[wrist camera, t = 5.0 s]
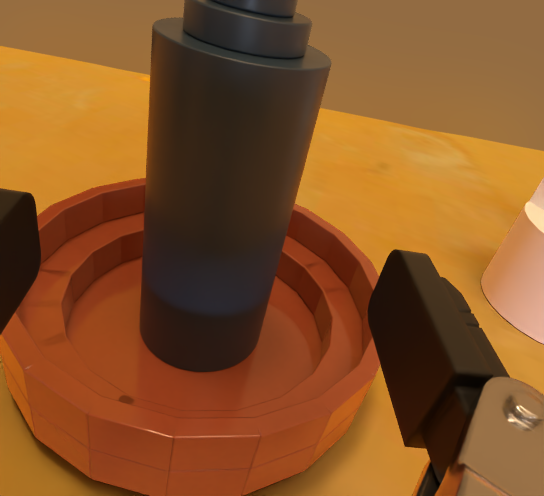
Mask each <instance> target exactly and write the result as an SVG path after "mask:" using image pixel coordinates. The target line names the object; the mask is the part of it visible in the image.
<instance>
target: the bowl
mask: <svg viewBox="0 0 544 496" xmlns="http://www.w3.org/2000/svg"><path fill="white" fill-rule="evenodd" d="M145 188H146V178H141V179H134V180H129V181H124V182H119V183H114V184H109V185H104V186H99V187H95V188H91V189H89V190H86V191H84V192H82V193H79V194H77V195H74V196H72V197H70V198H67V199H65V200H62V201H60V202H58V203H55V204H53V205H51V206H49V207H48V208H47V209H46V210H44V211H43V212H42V213H40V214H39V215H38V216H37V221H38V230H39V238H40V247H41V263H40V269H39V272H38V275H37V277H36V280H35V281H34V283H33V285H32V286H31V288H30V289H29V291H28V292H27V294H26V296H25V297H24V299H23V300H22V302H21V303H20V305H19V307H18V308H17V310H16V311H15V313H14V315H13V316H12V318H11V319H10V321H9V322H8V324H7V326H6V327H5V329H4V330H3V332H2V333H1V335H0V352H1V358H2V362H3V367H4V372H5V376H6V381H7V385H8V389H9V391H10V392H11V394H12V396H13V398H14V400H15V401H16V403H17V405H18V407H19V409H20V410H21V412H22V414H23V416H24V418H25V420H26V421H27V423H28V425H29V427H30V429H31V430H32V432H33V434H34V436H35V437H36V438H37V439H38V440H40V441H41V442H42V443H44V444H45V445H46V446H48V447H49V448H50V449H52V450H53V451H54V452H56V453H57V454H58V455H60V456H61V457H62V458H64V459H65V460H66V461H68V462H69V463H70V464H72V465H73V466H74V467H76V468H77V469H78V470H80V471H81V472H82V473H84V474H85V475H87V476H88V477H89V478H92V479H93V480H97V481H100V482H104V483H107V484H111V485H114V486H118V487H121V488H125V489H128V490H132V491H135V492H138V493H142V494H145V495H149V496H241V495H246V494H248V493H251V492H253V491H256V490H258V489H261V488H263V487H266V486H268V485H271V484H273V483H276V482H278V481H281V480H283V479H286V478H288V477H291V476H293V475H296V474H298V473H301V472H303V471H304V470H306V469H308V468H309V467H310V466H311V465H312V464H313V463H314V462H315V461H316V460H317V459H318V458H319V457H321V456H322V455H323V454H324V453H325V452H326V451H327V450H328V449H329V448H330V447H331V446H332V445H333V444H334V443H336V442H337V441H338V440H339V439H340V438H341V437H342V436H343V435H344V434H345V433H346V431H347V430H348V428H349V426H350V424H351V422H352V420H353V418H354V416H355V414H356V412H357V411H358V409H359V407H360V405H361V403H362V401H363V399H364V397H365V395H366V393H367V391H368V389H369V387H370V385H371V383H372V381H373V379H374V377H375V375H376V373H377V371H378V368H379V366H380V361H379V357H378V354H377V351H376V347H375V344H374V340H373V337H372V334H371V330H370V327H369V323H368V304H369V300H370V297H371V295H372V293H373V290H374V288H375V286H376V283H377V281H378V279H379V276H378V274H377V272H376V270H375V268H374V266H373V264H372V262H371V261H370V260H369V259H368V258H367V257H366V256H365V255H364V253H363V252H362V251H361V250H360V249H359V248H358V247H357V246H356V245H355V244H354V243H353V242H352V241H351V240H350V239H349V238H348V237H347V236H346V235H345V234H344V233H343V232H341V231H340V230H338V229H337V228H335V227H334V226H332V225H331V224H329V223H328V222H326V221H325V220H323V219H322V218H320V217H319V216H317V215H316V214H314V213H313V212H311V211H309V210H308V209H306V208H304V207H301V206H299V205H297V204H294V207H293V211H292V215H291V219H290V222H289V226H288V230H287V234H286V238H285V241H284V245H283V249H282V253H281V257H280V260H279V264H278V268H277V272H276V275H275V279H274V283H273V287H272V291H271V294H270V298H269V302H268V306H267V310H266V313H265V317H264V321H263V325H262V329H261V332H260V336H259V340H258V343H257V345H256V347H255V349H254V350H253V351H252V353H251V354H250V355H249V356H248V357H247V358H245V359H244V360H243V361H242V362H240V363H238V364H236V365H234V366H232V367H230V368H227V369H223V370H219V371H213V372H194V371H188V370H183V369H180V368H177V367H174V366H171V365H169V364H167V363H165V362H164V361H162V360H161V359H159V358H158V357H156V356H155V355H154V354H153V353H152V352H151V351H150V350H149V349H148V347H147V346H146V344H145V343H144V341H143V339H142V336H141V333H140V302H141V279H142V256H143V233H144V211H145Z"/></svg>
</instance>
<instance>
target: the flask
mask: <svg viewBox="0 0 544 496" xmlns="http://www.w3.org/2000/svg"><path fill="white" fill-rule="evenodd" d="M296 5H297V0H185V3H184V15H183V18H166V19H161V20H158V21H156V22H155V23H154V24H153V29H152V51H151V74H150V96H149V119H148V142H147V165H146V188H145V211H144V233H143V256H142V279H141V302H140V333H141V336H142V339H143V341H144V343H145V344H146V346H147V347H148V349H149V350H150V351H151V352H152V353H153V354H154V355H155V356H156V357H158V358H159V359H161V360H162V361H164V362H165V363H167V364H169V365H171V366H174V367H177V368H180V369H183V370H188V371H194V372H213V371H219V370H223V369H227V368H230V367H232V366H234V365H236V364H238V363H240V362H242V361H243V360H244V359H245V358H247V357H248V356H249V355H250V354H251V353H252V351H253V350H254V349H255V347H256V345H257V343H258V340H259V336H260V332H261V329H262V325H263V321H264V317H265V313H266V310H267V306H268V302H269V298H270V294H271V291H272V287H273V283H274V279H275V275H276V272H277V268H278V264H279V260H280V257H281V253H282V249H283V245H284V241H285V238H286V234H287V230H288V226H289V222H290V219H291V215H292V211H293V207H294V203H295V200H296V196H297V192H298V188H299V185H300V181H301V177H302V173H303V169H304V166H305V162H306V158H307V154H308V150H309V147H310V143H311V139H312V135H313V131H314V128H315V124H316V120H317V116H318V112H319V109H320V105H321V101H322V97H323V94H324V89H325V86H326V82H327V78H328V75H329V71H330V67H331V60H330V58H329V57H328V56H327V55H325V54H324V53H322V52H321V51H319V50H317V49H315V48H314V47H311V46H309V45H308V40H309V35H310V31H311V27H312V21H311V20H310V19H308V18H307V17H305V16H304V15H301V14H299V13H296V12H295V10H296Z"/></svg>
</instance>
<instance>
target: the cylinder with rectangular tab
mask: <svg viewBox="0 0 544 496" xmlns="http://www.w3.org/2000/svg"><path fill="white" fill-rule="evenodd" d="M481 285H482V289H483V293H484V294H485V296H486V298H487V299H488V301H489V302H490V304H491V305H492V306H493V307H494V308H495V309H496V310H497V312H498V313H499V314H500V315H501V316H502V317H503V318H505V319H506V320H507V321H508V322H510V323H511V324H512V325H513V326H515V327H516V328H517V329H518V330H520V331H522V332H523V333H525V334H526V335H528V336H530V337H531V338H533V339H534V340H536V341H538V342H540V343H542V344H544V178H543V179H542V181H541V183H540V184H539V186H538V188H537V189H536V191H535V192H534V194H533V196H532V197H531V199H530V201H529V202H527V203H526V204H525V205H524V207H523V209H522V210H521V212H520V214H519V215H518V217H517V219H516V220H515V222H514V224H513V225H512V227H511V229H510V230H509V232H508V234H507V235H506V237H505V239H504V240H503V242H502V243H501V245H500V247H499V248H498V250H497V252H496V253H495V255H494V257H493V258H492V260H491V262H490V263H489V265H488V267H487V268H486V270H485V272H484V273H483V275H482V279H481Z"/></svg>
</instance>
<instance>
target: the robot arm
mask: <svg viewBox="0 0 544 496" xmlns="http://www.w3.org/2000/svg"><path fill="white" fill-rule="evenodd" d="M40 263H41V247H40V238H39V230H38V221H37V213H36V204H35V200H34V197H33V195H32V194H31V193H27V192H21V191H14V190H7V189H1V188H0V335H1V333H2V332H3V330H4V329H5V327H6V326H7V324H8V322H9V321H10V319H11V318H12V316H13V315H14V313H15V311H16V310H17V308H18V307H19V305H20V303H21V302H22V300H23V299H24V297H25V296H26V294H27V292H28V291H29V289H30V288H31V286H32V285H33V283H34V281H35V280H36V277H37V275H38V272H39V269H40ZM368 323H369V327H370V330H371V334H372V337H373V340H374V344H375V347H376V351H377V354H378V357H379V361H380V364H381V367H382V371H383V374H384V378H385V381H386V384H387V388H388V391H389V394H390V398H391V401H392V405H393V408H394V411H395V415H396V418H397V421H398V425H399V428H400V432H401V435H402V438H403V442H404V445H405V447H414V448H426V449H427V451H428V454H429V457H430V459H429V461H428V462H427V463H426V465H425V467H424V468H423V471H422V473H421V475H420V478H419V480H418V482H417V485H416V487H415V489H414V492H413V494H412V496H544V395H543V394H541V393H540V392H539V391H537V390H536V389H534V388H533V387H531V386H530V385H528V384H526V383H524V382H522V381H519V380H516V379H513V378H510V376H509V375H508V373H507V371H506V370H505V368H504V366H503V364H502V363H501V361H500V359H499V358H498V356H497V354H496V352H495V351H494V349H493V347H492V345H491V344H490V342H489V340H488V339H487V337H486V335H485V333H484V332H483V330H482V328H479V323H478V321H477V320H476V318H475V316H474V314H472V313H471V309H470V308H469V306H468V304H467V302H466V301H465V299H464V297H463V296H462V294H461V293H460V292H459V291H458V290H457V289H456V288H455V287H454V286H453V285H452V284H451V283H450V282H449V281H448V280H447V279H446V278H443V277H440V276H439V274H438V272H437V270H436V268H435V267H434V265H433V263H432V261H431V259H430V258H429V256H428V255H427V254H423V253H416V252H410V251H403V250H396V249H395V250H393V251H392V252H391V253H390V254H389V256H388V258H387V260H386V263H385V265H384V267H383V270H382V272H381V274H380V277H379V279H378V281H377V283H376V286H375V288H374V290H373V293H372V295H371V297H370V300H369V304H368Z"/></svg>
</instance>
